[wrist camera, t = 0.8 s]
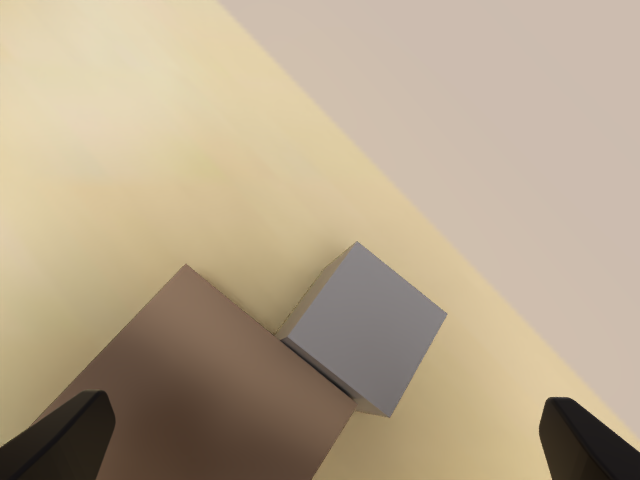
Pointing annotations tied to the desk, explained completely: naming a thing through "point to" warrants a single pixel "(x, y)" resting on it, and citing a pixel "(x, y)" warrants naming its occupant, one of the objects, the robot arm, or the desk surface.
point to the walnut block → (209, 394)
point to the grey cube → (363, 329)
